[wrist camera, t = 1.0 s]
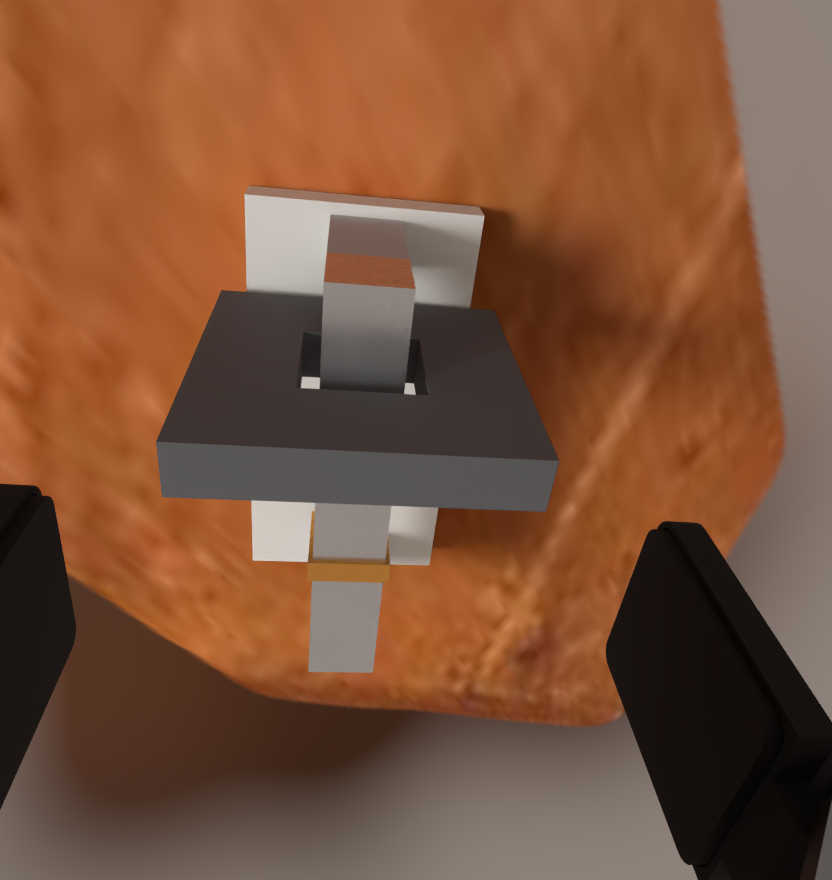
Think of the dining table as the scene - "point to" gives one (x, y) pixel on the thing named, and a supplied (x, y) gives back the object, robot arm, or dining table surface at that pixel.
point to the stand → (302, 274)
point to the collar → (354, 416)
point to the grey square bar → (349, 525)
